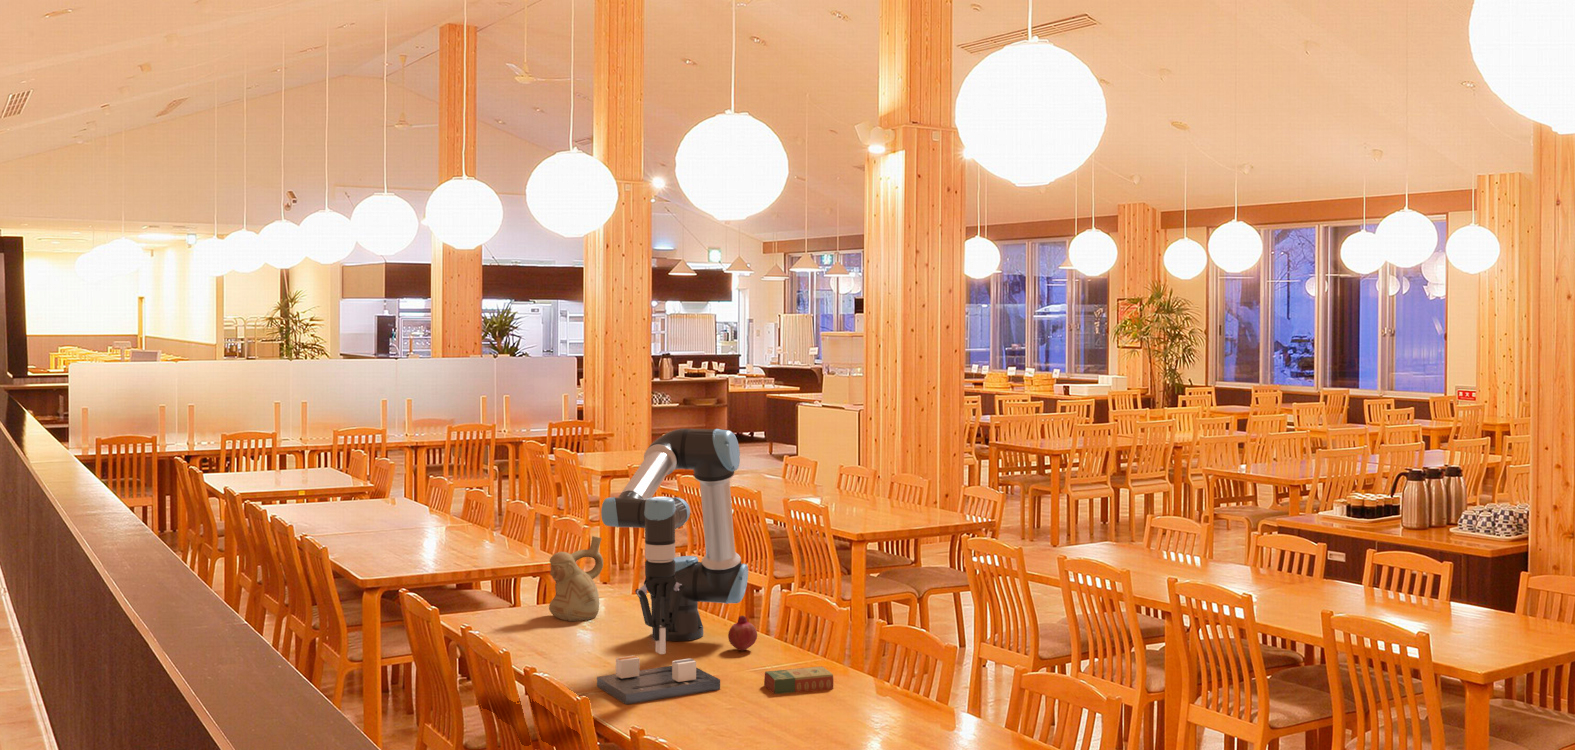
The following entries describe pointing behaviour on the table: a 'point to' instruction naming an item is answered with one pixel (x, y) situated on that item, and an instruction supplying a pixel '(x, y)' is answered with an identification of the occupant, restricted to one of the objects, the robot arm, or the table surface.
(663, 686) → the console
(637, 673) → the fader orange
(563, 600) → the ceramic vessel
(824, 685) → the carton
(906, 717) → the table surface
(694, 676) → the fader grey
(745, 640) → the fruit
